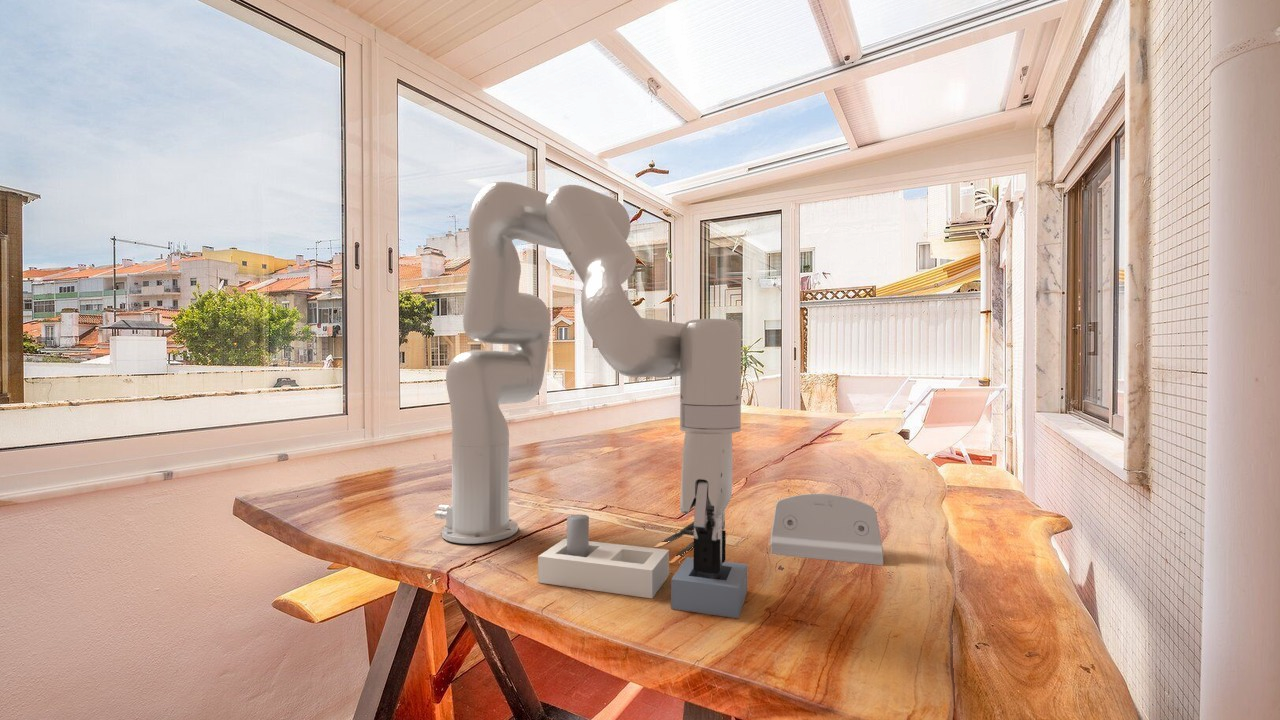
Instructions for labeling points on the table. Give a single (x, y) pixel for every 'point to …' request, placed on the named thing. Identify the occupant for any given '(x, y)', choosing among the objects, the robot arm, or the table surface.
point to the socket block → (710, 590)
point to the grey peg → (719, 575)
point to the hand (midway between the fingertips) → (709, 564)
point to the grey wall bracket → (826, 529)
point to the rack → (602, 564)
